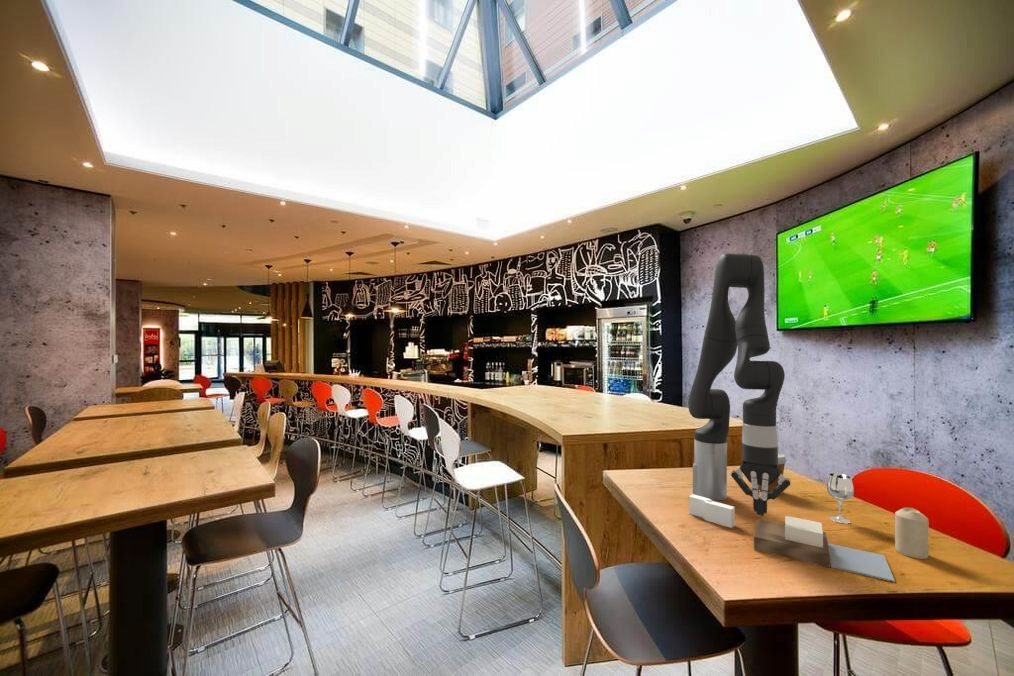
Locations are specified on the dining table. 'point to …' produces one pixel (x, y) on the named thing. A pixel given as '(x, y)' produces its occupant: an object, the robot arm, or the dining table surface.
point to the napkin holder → (712, 510)
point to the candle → (911, 533)
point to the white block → (803, 531)
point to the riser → (788, 544)
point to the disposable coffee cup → (781, 466)
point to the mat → (859, 562)
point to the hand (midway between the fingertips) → (760, 514)
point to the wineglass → (840, 492)
